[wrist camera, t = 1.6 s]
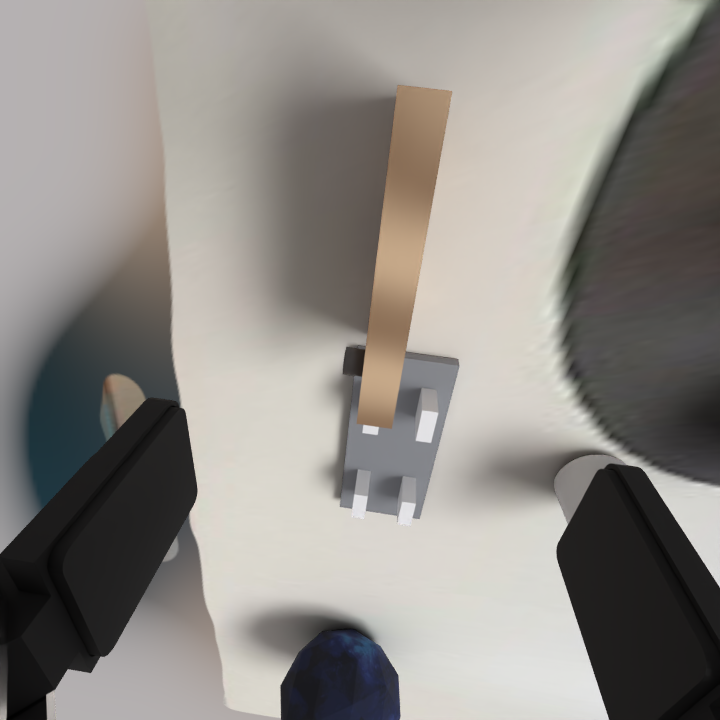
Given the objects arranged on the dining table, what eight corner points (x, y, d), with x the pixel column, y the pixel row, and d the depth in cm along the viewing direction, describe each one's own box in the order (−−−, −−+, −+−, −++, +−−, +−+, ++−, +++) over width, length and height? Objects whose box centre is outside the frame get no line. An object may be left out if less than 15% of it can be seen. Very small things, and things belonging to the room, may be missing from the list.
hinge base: (358, 345, 33) (352, 371, 30) (458, 359, 33) (463, 387, 30) (341, 498, 43) (335, 532, 39) (419, 510, 42) (419, 545, 39)
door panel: (382, 94, 25) (365, 81, 15) (436, 100, 25) (452, 91, 15) (357, 333, 33) (335, 420, 23) (397, 338, 33) (391, 429, 23)
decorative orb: (412, 652, 46) (313, 799, 38) (435, 713, 53) (355, 849, 45) (328, 582, 56) (235, 686, 48) (357, 641, 63) (280, 741, 55)
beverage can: (537, 486, 39) (582, 620, 29) (579, 438, 36) (647, 569, 25) (597, 508, 40) (663, 646, 29) (644, 463, 36) (736, 601, 26)
